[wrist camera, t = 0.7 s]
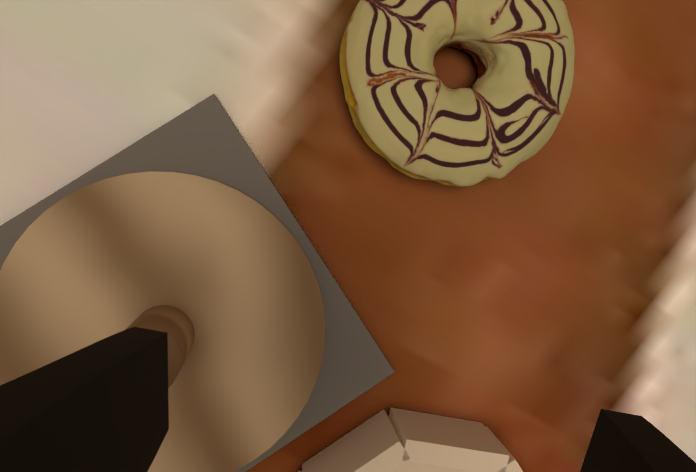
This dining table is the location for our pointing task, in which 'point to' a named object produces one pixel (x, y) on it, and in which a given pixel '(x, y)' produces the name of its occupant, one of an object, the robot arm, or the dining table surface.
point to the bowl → (414, 446)
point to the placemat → (249, 178)
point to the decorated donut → (463, 103)
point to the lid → (174, 306)
